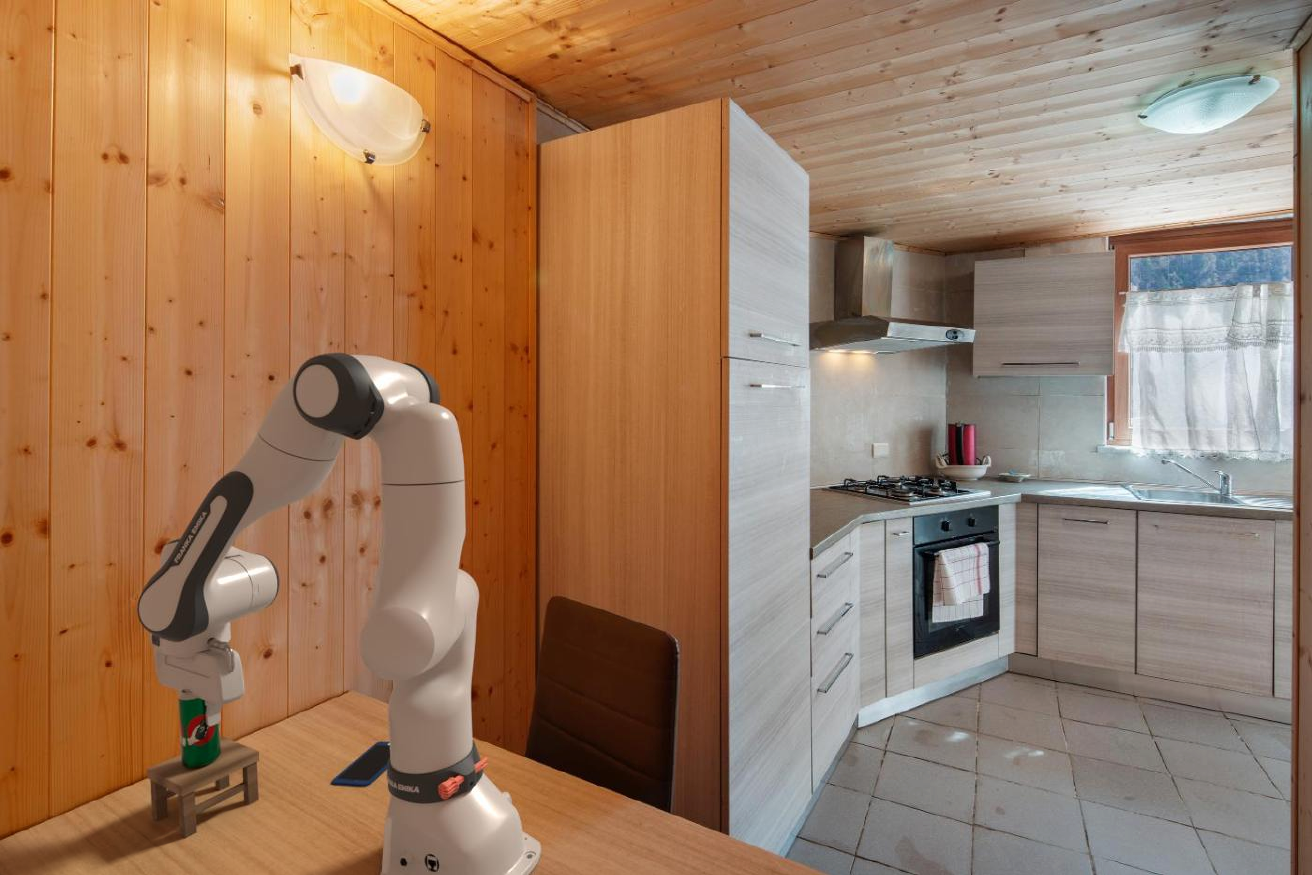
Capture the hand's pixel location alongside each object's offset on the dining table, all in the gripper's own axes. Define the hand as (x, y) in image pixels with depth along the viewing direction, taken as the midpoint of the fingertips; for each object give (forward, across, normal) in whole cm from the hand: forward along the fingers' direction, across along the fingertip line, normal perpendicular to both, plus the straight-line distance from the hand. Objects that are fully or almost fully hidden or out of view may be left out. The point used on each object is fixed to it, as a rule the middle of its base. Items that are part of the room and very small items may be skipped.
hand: (202, 719), depth 99 cm
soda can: (+7, 0, 0) cm, 7 cm away
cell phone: (+15, -13, -21) cm, 29 cm away
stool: (+15, 0, 0) cm, 15 cm away
